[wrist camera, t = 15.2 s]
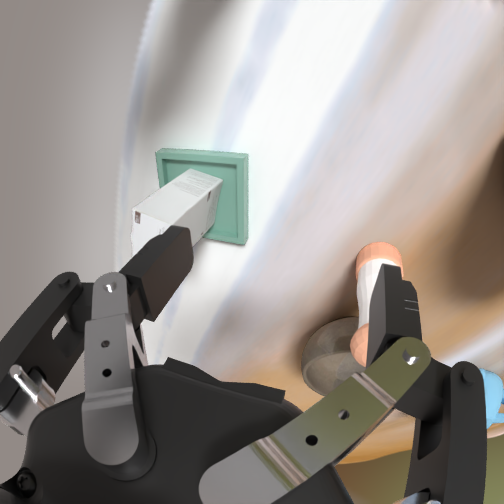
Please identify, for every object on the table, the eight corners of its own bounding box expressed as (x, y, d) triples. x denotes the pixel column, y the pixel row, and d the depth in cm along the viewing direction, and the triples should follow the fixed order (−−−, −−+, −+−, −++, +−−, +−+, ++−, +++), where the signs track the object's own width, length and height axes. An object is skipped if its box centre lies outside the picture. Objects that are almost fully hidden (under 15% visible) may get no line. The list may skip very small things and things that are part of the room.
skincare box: (215, 222, 49) (169, 281, 38) (182, 210, 50) (130, 263, 38) (224, 176, 44) (173, 227, 33) (187, 164, 45) (128, 209, 33)
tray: (162, 148, 45) (155, 152, 44) (248, 154, 42) (243, 158, 40) (171, 224, 54) (166, 230, 52) (248, 238, 50) (244, 244, 49)
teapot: (419, 390, 60) (419, 442, 49) (485, 351, 48) (495, 408, 37) (457, 411, 62) (458, 456, 51) (515, 378, 50) (523, 426, 39)
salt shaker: (401, 279, 46) (407, 381, 31) (357, 281, 48) (347, 381, 34) (401, 240, 42) (414, 342, 27) (354, 243, 45) (345, 344, 30)
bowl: (400, 359, 56) (399, 400, 48) (318, 364, 64) (310, 403, 56) (396, 298, 48) (399, 344, 40) (298, 308, 56) (286, 351, 48)
